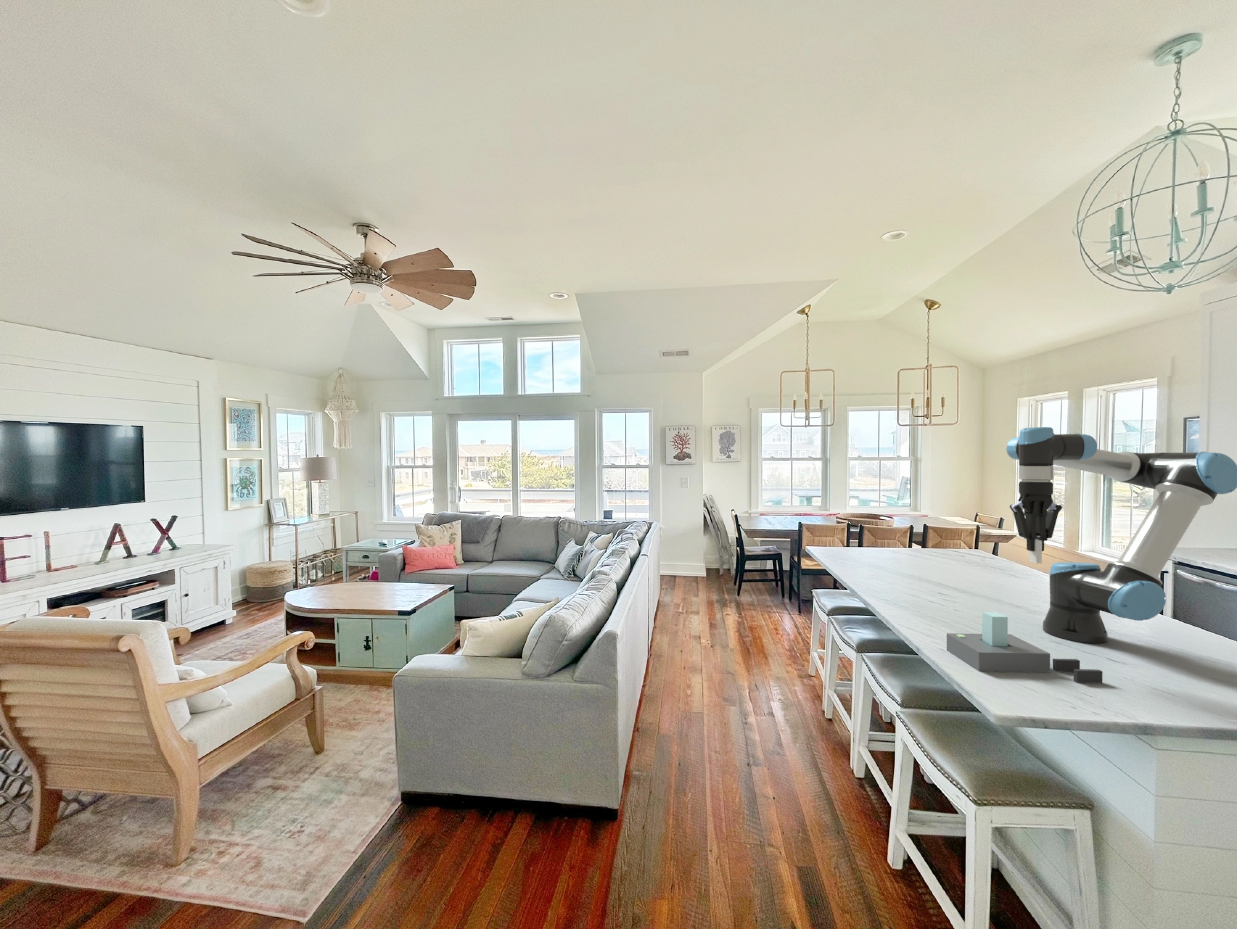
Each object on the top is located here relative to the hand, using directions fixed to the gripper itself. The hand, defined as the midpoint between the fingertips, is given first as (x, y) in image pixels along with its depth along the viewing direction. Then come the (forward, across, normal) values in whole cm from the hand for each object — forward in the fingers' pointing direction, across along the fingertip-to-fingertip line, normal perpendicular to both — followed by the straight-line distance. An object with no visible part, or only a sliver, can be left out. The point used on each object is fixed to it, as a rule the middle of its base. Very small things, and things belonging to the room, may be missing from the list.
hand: (1035, 562), depth 140 cm
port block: (+26, +15, +6) cm, 31 cm away
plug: (+25, +15, +6) cm, 30 cm away
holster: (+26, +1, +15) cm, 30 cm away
